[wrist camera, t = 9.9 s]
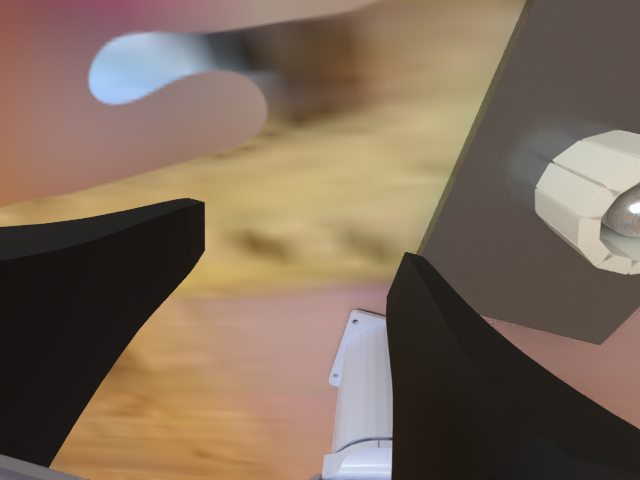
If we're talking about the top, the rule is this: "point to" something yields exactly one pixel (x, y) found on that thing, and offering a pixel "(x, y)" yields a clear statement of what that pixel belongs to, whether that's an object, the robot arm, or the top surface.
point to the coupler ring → (592, 198)
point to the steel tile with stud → (529, 165)
